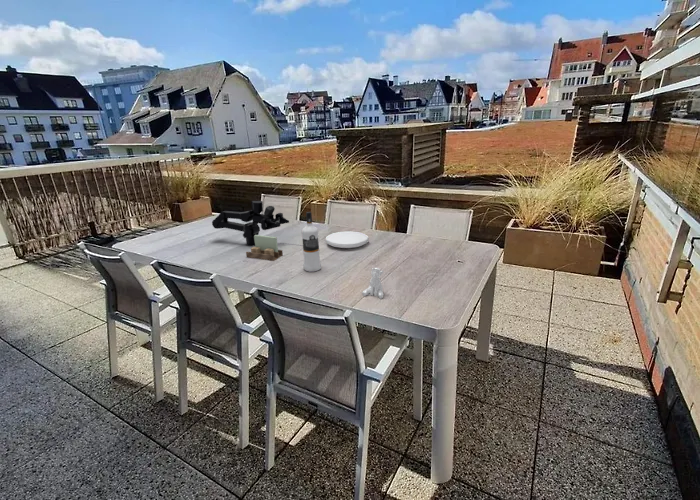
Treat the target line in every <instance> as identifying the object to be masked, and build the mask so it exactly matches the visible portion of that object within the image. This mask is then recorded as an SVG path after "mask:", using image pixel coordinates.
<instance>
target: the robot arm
mask: <svg viewBox="0 0 700 500" xmlns="http://www.w3.org/2000/svg"><path fill="white" fill-rule="evenodd" d="M263 204H264V203H263V200H251V210H247V211H230V210H224V211H221V212H220V213H219V214H218V216H216V217H215V218H214V219H212V222H211V224H212V227H213V229H229V230H234V231H238V232H243V234H242V237H243V238H244V239H245V242H246V245H247V246H249V247H250V246H251V247H255V240H254V235H259V233H260V232H261V230H262V231H266V230H272V229H275V228H279V227H281V225H284V224H289V223H290V220H289V219H287V218H285V217H284V215H283V214H284V213H283V212H278V213H276V214H275V215H274V212H275V210H276V209H275V207H274V205H268V206H265V209H264V205H263ZM262 212H263V214H262ZM229 219H234V220H235V219H236V220H241V221H242V222H244V223H240V222H235V221H229ZM258 224H260V225H258ZM260 228H261V229H260Z"/></svg>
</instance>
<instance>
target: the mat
mask: <svg viewBox="0 0 700 500" xmlns="http://www.w3.org/2000/svg"><path fill="white" fill-rule="evenodd" d="M280 244H283V245H287V243H285V242H280ZM290 245H292V246H296V244H294V243H289V246H290ZM298 246H301V247H303V244H298Z"/></svg>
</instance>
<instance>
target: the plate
mask: <svg viewBox="0 0 700 500" xmlns="http://www.w3.org/2000/svg"><path fill="white" fill-rule="evenodd" d="M369 239H370V238H369V236H368V235H367V234H365V233H362V232H359V231H350V230H349V231H348V230H347V231H339V232H338V231H337V232H333V233H330V234H328V235H327V236H326V237H325V243H326V244H327V245H329V246H332V247H335V248H342V249H345V248H346V249H351V248H352V249H354V248H359V247H361V246H364V245H366V244H367V243H368V242H369Z"/></svg>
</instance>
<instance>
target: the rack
mask: <svg viewBox="0 0 700 500" xmlns="http://www.w3.org/2000/svg"><path fill="white" fill-rule="evenodd" d="M260 252H261V253H253V252H251V251H245V253H246V254H245V255H246V258H250V259H258V260H264V261H273V262H275V261H276V260H278V259H279V258H281V257H282V256H284V255H283V253H284V252H283V250H282V249H278V252H274V255H269V254H265V252H264V250H260Z"/></svg>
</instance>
